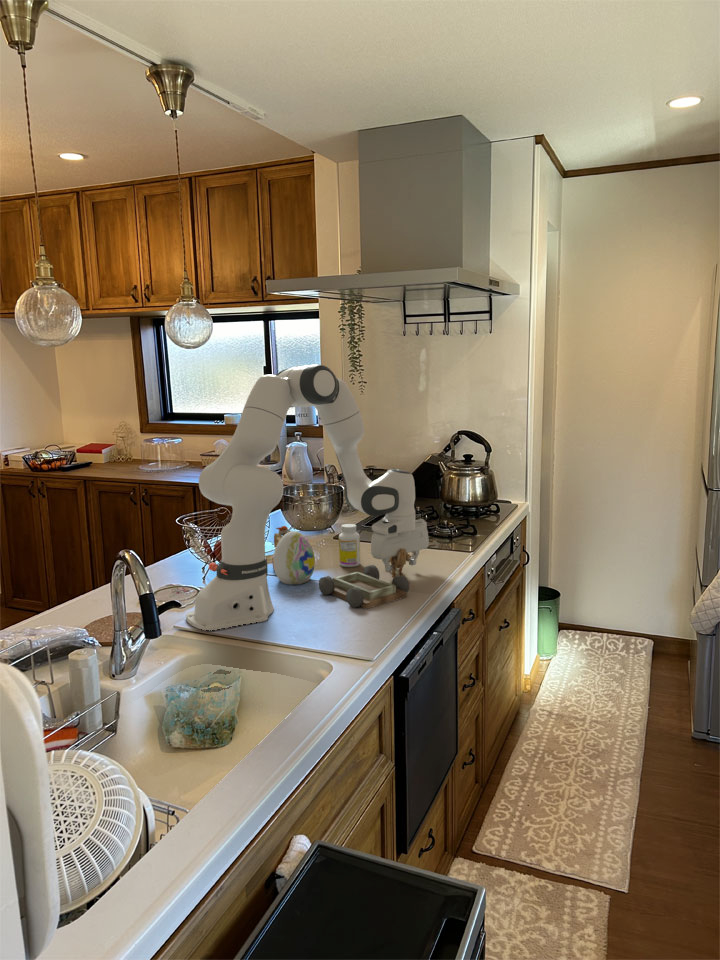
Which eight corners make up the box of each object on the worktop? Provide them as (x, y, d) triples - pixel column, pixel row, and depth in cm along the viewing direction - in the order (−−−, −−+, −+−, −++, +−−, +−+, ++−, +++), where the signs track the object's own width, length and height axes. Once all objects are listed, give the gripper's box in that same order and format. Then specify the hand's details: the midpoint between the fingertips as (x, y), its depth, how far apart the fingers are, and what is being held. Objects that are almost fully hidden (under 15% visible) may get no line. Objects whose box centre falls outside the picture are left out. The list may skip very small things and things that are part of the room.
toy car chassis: (360, 610, 188) (359, 592, 187) (316, 591, 203) (316, 574, 202) (411, 595, 199) (411, 578, 198) (366, 578, 214) (366, 562, 213)
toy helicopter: (276, 574, 220) (274, 530, 218) (264, 556, 240) (262, 516, 237) (302, 571, 223) (300, 528, 220) (288, 554, 242) (287, 514, 240)
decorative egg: (299, 589, 206) (297, 538, 203) (265, 583, 212) (263, 533, 210) (323, 577, 216) (321, 529, 213) (290, 572, 222) (288, 524, 220)
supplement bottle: (347, 560, 233) (346, 522, 231) (364, 563, 230) (363, 524, 227) (335, 565, 228) (334, 526, 226) (352, 569, 224) (351, 528, 222)
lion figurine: (413, 578, 214) (413, 549, 212) (397, 581, 212) (396, 551, 210) (392, 565, 227) (392, 538, 225) (377, 568, 225) (376, 540, 223)
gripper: (419, 515, 223) (419, 559, 225) (367, 526, 211) (368, 572, 213) (433, 519, 218) (433, 563, 220) (381, 530, 206) (381, 576, 208)
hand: (400, 567), depth 217 cm, fingers open, 8 cm apart
